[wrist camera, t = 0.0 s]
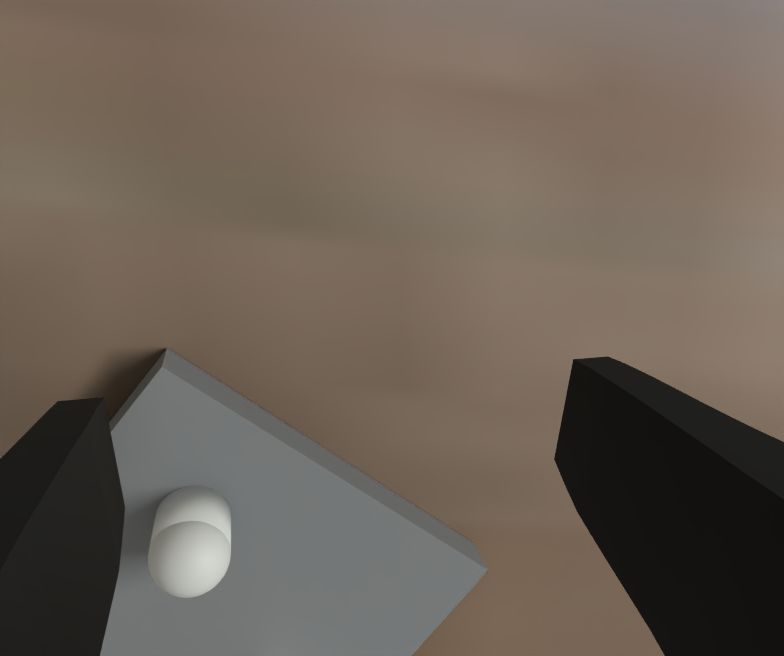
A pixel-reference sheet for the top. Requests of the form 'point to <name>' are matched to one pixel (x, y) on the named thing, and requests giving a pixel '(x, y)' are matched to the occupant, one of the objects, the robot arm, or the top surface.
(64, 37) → the top surface
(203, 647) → the board
